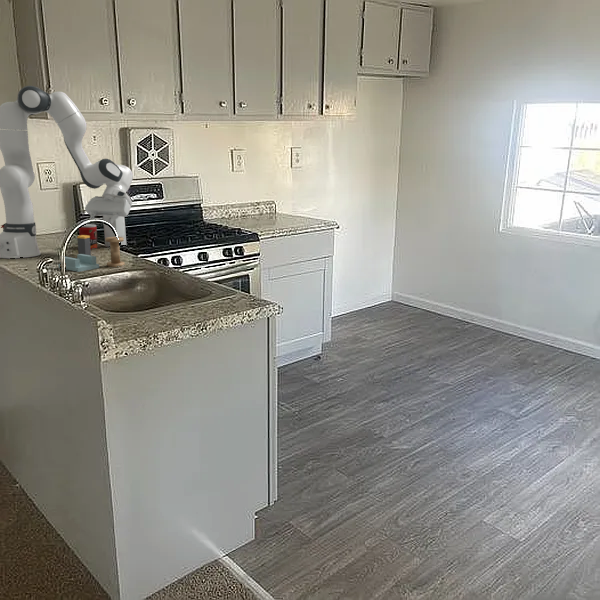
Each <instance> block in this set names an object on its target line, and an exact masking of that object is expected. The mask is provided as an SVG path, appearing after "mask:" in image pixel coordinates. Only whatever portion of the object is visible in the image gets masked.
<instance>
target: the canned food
mask: <svg viewBox="0 0 600 600" xmlns="http://www.w3.org/2000/svg"><path fill="white" fill-rule="evenodd" d="M85 224H86V225H84V226H82V227H81V228H79V227H78V232H79V233H78V234H79V235H78V236H81V235H88V236H90V249H91V250H93V249H92V248H96V249H98V230H97V229H98V228H97V224H94V223H85Z"/></svg>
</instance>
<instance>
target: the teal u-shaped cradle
mask: <svg viewBox="0 0 600 600" xmlns="http://www.w3.org/2000/svg"><path fill="white" fill-rule="evenodd" d="M76 255H77V257H75V258H74V257H71V256H70V257H69V256H64V257H65V263H66V269H65V270H68V271H73V272H77V273H79V272H86V271H91V270H96V269H99V268H100V264H99V263H97V256H95V255H92V254H91V255H85V254H78V253H77V254H76ZM60 264H61V263H58V264H57V265H58V266H57V267H58V269H61V268H60Z"/></svg>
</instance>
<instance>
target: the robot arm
mask: <svg viewBox="0 0 600 600" xmlns="http://www.w3.org/2000/svg"><path fill="white" fill-rule="evenodd" d="M43 112H45V113H47V114H49V116H50V117H52V119H53V120H54V122H55V123H56V124H57V126H58V128H59V130H60V131H61V134H62V136H63V141H64V144H65V147H66V149H67V150H68V152H69V154H70V157H71V158H72V160H73V162H74V163H75V165H76V167H77V170H78V171H79V174H80V177H81V180H82V182H83V184H84V185H85V186H86V187H88V188H90V189H94V190H95V189H99V188H100V187H101V186H103V185H106V187H105V189H104V191H103V192H102V195H100V196H98V195H96V196H94V197H91V199H89V201H88V202H87V204H86V205H85V207H84V210H85V211H86V213H87V214H88V215H90V217H89V221H90V220H91V219H95V220H96V218H95V217H96V216H103V215H106V216H112V217H111V218H109V220H108V222H109V223H113V222H114V220H116V219H117V218H118V217H119V216H122V217H124V218H125V217H127V216H128V215H129V213H130V211H131V207H132V205H133V201H132V199H131V197H130V196H129V195H128V193H127V192H128V191H129V189H130V187H131V184H132V182H133V179H134V175H133V171H132V170H131V169H130V167H129V166H126V165H124V164H118V163H115V162H114V161H113V160H111V159H108V158H102V159H100V160H98V161H96V162H95V163H92V162H91V160H90V159H89V157H88V155H87V152H85V150H84V148H83V147H84V146H83V139H84V136H85V134H86V133H87V132H86V131H87V120H86V119H85V117H84V115H83V114H82V112H81V110H79V108H78V107H77V105H76V103H74V101H73V100H72V99H71V98H70V97H69V95H67V93H65V92H64V91H55V92H51V93H50V94H49V93H48V92H46V91H44V90H43V89H42V88H40V87H37V86H35V85H25V86H23V87H22V88H21V89H20V90H19V91H18V93H17V99H16V100H15V101H5V102H4V103H3V102H2V103H1V104H0V152H1V153H2V158H3V161H4V165H3V166H2V167H1V168H0V192H1V196H2V201H3V205H4V211H5V222H4V223H3V224H1V225H0V229H2V232H0V259H10V258H15V259H21V258H20V257H23V258H31V257H38V256H40V255H41V251H40V248H39V244H38V240H37V226H36V222H35V217H34V204H33V202H32V198H31V195H30V191H29V188H30V187H31V186H32V185H33V184H34V182H35V179H36V176H35V175H36V174H35V172H34V168H33V162H32V158H31V153H30V149H29V148H30V147H29V146H30V145H29V132H28V130H29V129H28V118H29V116H34V115H38V114H40V113H43Z"/></svg>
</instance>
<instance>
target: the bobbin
mask: <svg viewBox="0 0 600 600" xmlns="http://www.w3.org/2000/svg"><path fill="white" fill-rule="evenodd" d="M118 238H119V240H118V239H117V238H116V237H107V238H105V237H104V240H105V239H106V242H110V247H109V250H110V261H107V262H106V267H107V266H108V267H107V268H118V267H117V266H122V265H125V266H126V264H125V261H122V260H121V251H120V249H121V247H120V246H119V242H122V241H124V238H123V237H118Z"/></svg>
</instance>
